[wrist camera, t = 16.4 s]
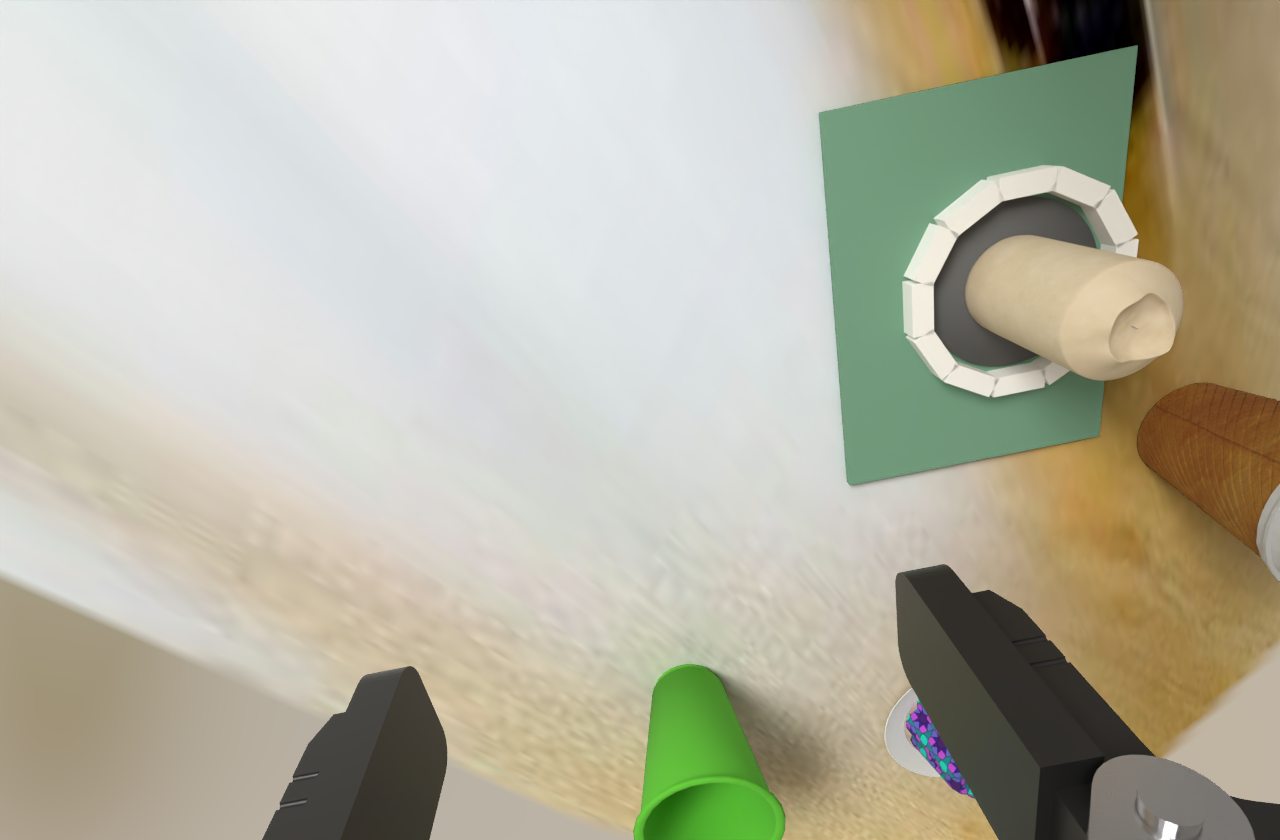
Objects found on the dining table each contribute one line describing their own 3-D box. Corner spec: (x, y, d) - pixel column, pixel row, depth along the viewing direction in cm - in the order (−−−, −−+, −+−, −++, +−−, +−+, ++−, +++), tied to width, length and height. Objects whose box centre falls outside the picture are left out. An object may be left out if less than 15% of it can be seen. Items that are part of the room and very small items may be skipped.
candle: (1079, 274, 37) (1238, 318, 28) (1004, 349, 38) (1131, 415, 29) (1017, 212, 35) (1164, 237, 26) (942, 293, 37) (1056, 344, 28)
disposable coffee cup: (1273, 446, 43) (1504, 551, 32) (1132, 516, 45) (1307, 639, 34) (1244, 328, 40) (1492, 401, 29) (1093, 409, 41) (1273, 507, 30)
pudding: (982, 779, 55) (1019, 841, 50) (855, 754, 53) (880, 816, 48) (1060, 674, 50) (1108, 730, 46) (924, 641, 48) (960, 697, 44)
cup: (689, 620, 46) (714, 755, 36) (772, 685, 49) (817, 827, 39) (601, 693, 48) (601, 839, 38) (685, 751, 51) (706, 902, 41)
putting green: (818, 112, 34) (829, 111, 32) (1134, 45, 33) (1160, 41, 32) (847, 481, 42) (856, 494, 41) (1096, 432, 42) (1116, 443, 40)
